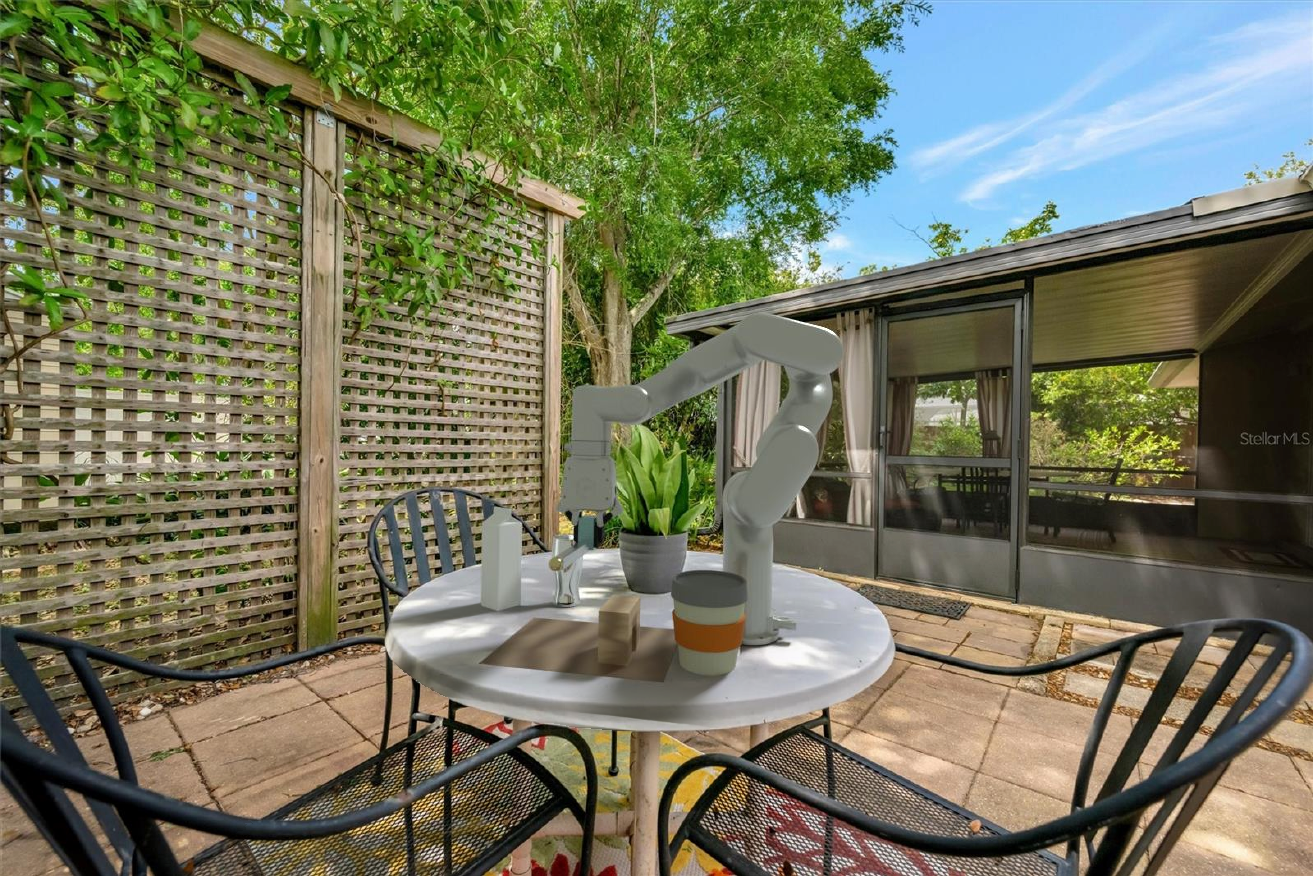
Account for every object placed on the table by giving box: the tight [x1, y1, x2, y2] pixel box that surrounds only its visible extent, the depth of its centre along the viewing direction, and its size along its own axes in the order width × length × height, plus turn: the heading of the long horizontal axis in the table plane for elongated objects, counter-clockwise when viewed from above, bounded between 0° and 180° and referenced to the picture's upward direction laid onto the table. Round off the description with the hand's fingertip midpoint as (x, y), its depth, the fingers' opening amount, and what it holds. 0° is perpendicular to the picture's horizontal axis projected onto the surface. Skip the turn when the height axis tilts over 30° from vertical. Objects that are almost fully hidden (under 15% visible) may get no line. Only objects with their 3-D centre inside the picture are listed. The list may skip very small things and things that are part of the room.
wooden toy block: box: [598, 594, 641, 666], centre depth 93 cm, size 5×9×8 cm, turn 170°
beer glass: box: [551, 533, 584, 608], centre depth 124 cm, size 7×7×15 cm
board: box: [478, 617, 678, 683], centre depth 97 cm, size 30×22×1 cm
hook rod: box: [548, 514, 597, 572], centre depth 97 cm, size 21×3×6 cm, turn 170°
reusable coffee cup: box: [670, 569, 748, 676], centre depth 90 cm, size 13×13×15 cm
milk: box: [480, 506, 523, 612], centre depth 118 cm, size 6×6×22 cm
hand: (588, 545), depth 106 cm, fingers closed on hook rod, 3 cm apart
